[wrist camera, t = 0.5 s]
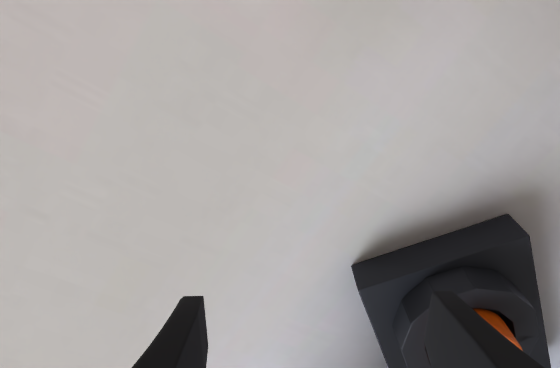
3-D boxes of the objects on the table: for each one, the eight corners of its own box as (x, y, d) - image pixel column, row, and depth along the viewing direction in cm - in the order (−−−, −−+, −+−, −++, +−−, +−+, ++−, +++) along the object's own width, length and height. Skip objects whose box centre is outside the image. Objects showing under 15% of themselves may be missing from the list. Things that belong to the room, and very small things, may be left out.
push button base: (535, 360, 29) (573, 415, 26) (402, 398, 30) (420, 456, 27) (508, 213, 24) (550, 256, 21) (350, 265, 25) (364, 314, 22)
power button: (511, 352, 24) (529, 381, 22) (438, 373, 24) (450, 403, 23) (499, 298, 22) (518, 324, 20) (421, 321, 23) (433, 349, 21)
